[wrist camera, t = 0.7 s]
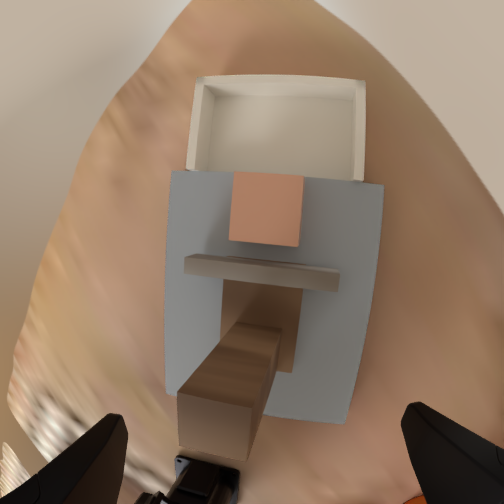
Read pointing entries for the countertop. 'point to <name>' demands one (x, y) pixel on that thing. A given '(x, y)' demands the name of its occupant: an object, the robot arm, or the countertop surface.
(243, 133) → the tray
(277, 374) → the board
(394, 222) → the countertop surface
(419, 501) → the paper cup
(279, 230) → the tile
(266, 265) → the scraper
